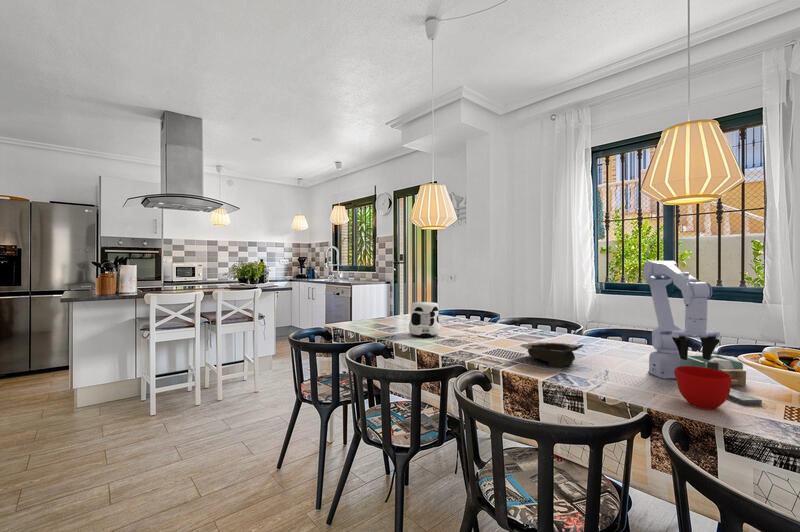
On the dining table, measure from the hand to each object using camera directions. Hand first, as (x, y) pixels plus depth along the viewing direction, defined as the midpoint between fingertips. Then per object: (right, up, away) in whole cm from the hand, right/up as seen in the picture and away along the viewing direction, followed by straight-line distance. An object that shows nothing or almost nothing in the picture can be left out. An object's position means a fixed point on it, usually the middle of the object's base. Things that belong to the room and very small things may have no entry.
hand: (694, 359), depth 126 cm
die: (+17, -11, +11) cm, 23 cm away
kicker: (+13, -10, +3) cm, 17 cm away
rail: (+8, -11, -3) cm, 13 cm away
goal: (+17, -10, +14) cm, 24 cm away
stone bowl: (-34, -10, +35) cm, 50 cm away
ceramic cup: (-8, -11, -11) cm, 17 cm away
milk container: (-84, -8, +87) cm, 121 cm away
